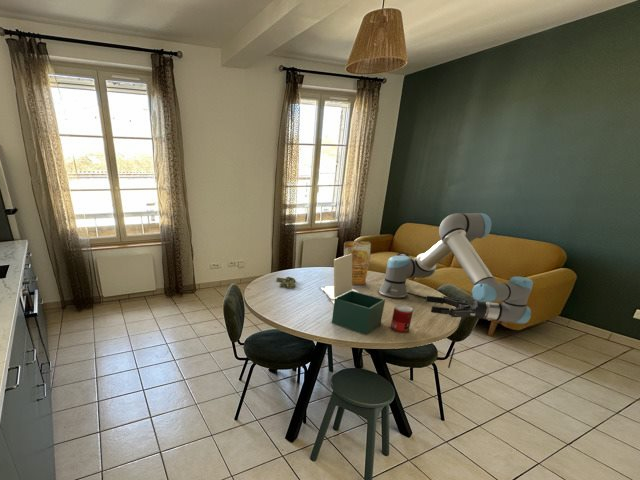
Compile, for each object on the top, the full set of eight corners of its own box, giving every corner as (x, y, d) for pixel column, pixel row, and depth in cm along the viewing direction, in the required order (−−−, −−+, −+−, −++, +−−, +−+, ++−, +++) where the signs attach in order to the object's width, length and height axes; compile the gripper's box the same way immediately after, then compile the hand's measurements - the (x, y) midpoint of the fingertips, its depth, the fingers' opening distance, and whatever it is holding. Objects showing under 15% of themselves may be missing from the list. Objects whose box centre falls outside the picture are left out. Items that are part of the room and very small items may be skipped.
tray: (350, 287, 212) (351, 281, 210) (369, 305, 186) (370, 299, 185) (319, 287, 211) (320, 282, 209) (333, 306, 185) (334, 300, 183)
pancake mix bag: (337, 281, 223) (342, 240, 212) (364, 281, 224) (371, 240, 213) (340, 284, 216) (346, 242, 206) (368, 284, 217) (375, 242, 207)
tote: (380, 323, 162) (385, 299, 157) (365, 334, 151) (370, 309, 146) (347, 313, 173) (351, 290, 169) (331, 322, 162) (334, 298, 158)
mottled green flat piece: (275, 279, 225) (276, 276, 225) (293, 279, 226) (293, 276, 225) (280, 288, 209) (280, 285, 208) (298, 288, 209) (298, 285, 208)
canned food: (407, 334, 152) (412, 312, 148) (389, 329, 156) (393, 308, 151) (409, 327, 158) (414, 306, 154) (391, 323, 162) (395, 303, 157)
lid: (352, 253, 163) (350, 253, 164) (335, 259, 152) (333, 259, 153) (352, 289, 168) (350, 289, 169) (335, 297, 157) (334, 297, 158)
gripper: (491, 330, 132) (432, 322, 139) (473, 307, 154) (423, 301, 160) (496, 313, 129) (436, 305, 136) (477, 293, 151) (426, 287, 158)
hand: (428, 303), depth 148 cm, fingers open, 13 cm apart
